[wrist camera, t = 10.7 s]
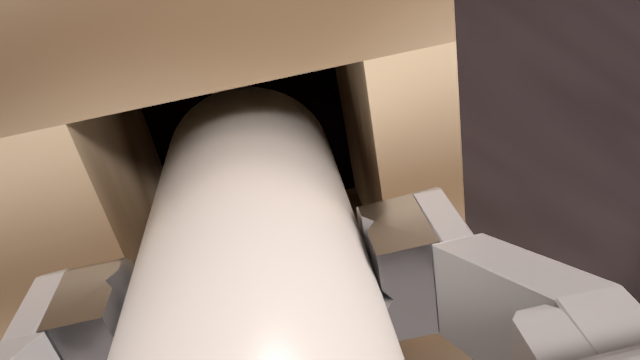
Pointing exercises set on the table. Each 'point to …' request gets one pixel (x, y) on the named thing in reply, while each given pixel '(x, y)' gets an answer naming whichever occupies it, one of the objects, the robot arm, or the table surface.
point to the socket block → (195, 80)
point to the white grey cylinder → (252, 245)
